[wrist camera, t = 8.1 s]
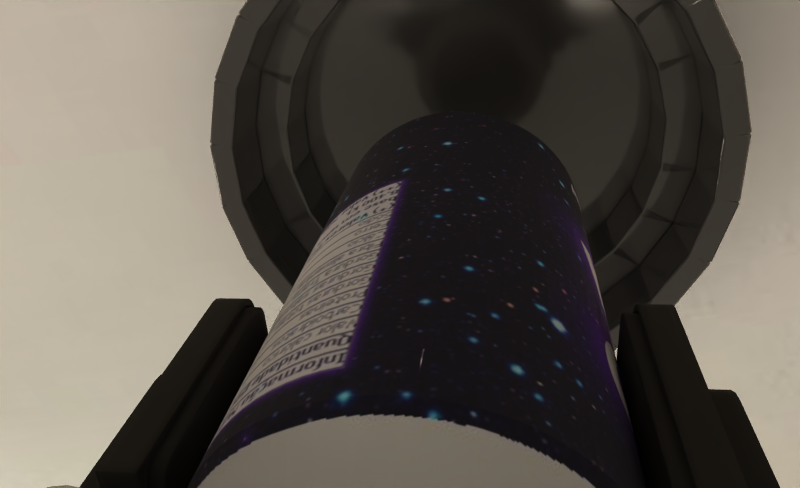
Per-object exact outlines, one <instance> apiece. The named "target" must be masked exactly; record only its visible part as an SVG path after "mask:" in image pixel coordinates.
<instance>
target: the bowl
mask: <svg viewBox="0 0 800 488" xmlns="http://www.w3.org/2000/svg"><path fill="white" fill-rule="evenodd" d="M215 79H216V80H215V82H214V96H213V111H212V126H211V140H210V142H211V146H210V147H211V152H212V157H213V162H214V167H215V172H216V177H217V182H218V187H219V192H220V197H221V202H222V205H223V209H224V211H225V213H226V216H227V218H228V220H229V222H230V224H231V226H232V228H233V230H234V232H235V234H236V237H237V239H238V241H239V243H240V245H241V247H242V249H243V251H244V253H245V255H246V257H247V260H249V262H250V264H251V265H252V266H253V267H254V269H255V270H256V271H257V272H258V274H259V275H260V276H261V277H262V278H263V280H264V281H265V282H266V283H267V285H268V286H269V287H270V288H271V290H272V291H273V292H274V293H275V295H276V296H277V297H278V298H279V299H280V301H281V302H282V303H283V304H284V303H285V301H286V299H287V298H288V296H289V294H290V292H291V290H292V288H293V286H294V284H295V282H296V280H297V279H298V277H299V275H300V273H301V271H302V269H303V267H304V265H305V263H306V262H307V260H308V258H309V256H310V254H311V252H312V250H313V248H314V246H315V244H316V243H317V241H318V239H319V237H320V235H321V233H322V231H323V229H324V227H325V225H326V224H327V222H328V220H329V218H330V216H331V214H332V212H333V210H334V208H335V207H336V205H337V203H338V201H339V199H340V197H341V195H342V193H343V191H344V189H345V188H346V186H347V184H348V182H349V180H350V178H351V176H352V174H353V172H354V171H355V169H356V167H357V165H358V164H359V162H360V161H361V159H362V158H363V156H364V155H365V154H366V153H367V152H368V150H369V149H370V148H371V147H372V146H373V145H374V144H375V143H376V142H378V141H379V140H380V139H381V138H382V137H383V136H385V135H386V134H388V133H389V132H390V131H392V130H394V129H395V128H397V127H399V126H401V125H403V124H405V123H407V122H409V121H412V120H414V119H417V118H420V117H423V116H427V115H431V114H436V113H443V112H476V113H482V114H487V115H491V116H495V117H498V118H501V119H504V120H507V121H509V122H512V123H514V124H516V125H518V126H520V127H522V128H524V129H525V130H527V131H529V132H530V133H532V134H533V135H534V136H536V137H537V138H539V139H540V140H541V141H542V142H543V143H544V144H546V145H547V146H548V147H549V148H550V149H551V150H552V151H553V152H554V154H555V155H556V156H557V157H558V158H559V160H560V161H561V163H562V164H563V165H564V167H565V169H566V170H567V172H568V174H569V176H570V178H571V180H572V182H573V185H574V187H575V190H576V193H577V197H578V201H579V205H580V209H581V214H582V218H583V222H584V226H585V230H586V235H587V239H588V243H589V247H590V251H591V256H592V260H593V264H594V268H595V273H596V277H597V281H598V285H599V289H600V294H601V298H602V302H603V306H604V310H605V315H606V319H607V323H608V327H609V331H610V336H611V340H612V344H613V348H614V351H615V350H616V348H618V339H619V328H620V319H621V314H622V313H633V310H634V307H635V305H636V304H670V305H674V306H675V304H676V303H677V302H678V301H679V300H680V299H681V297H682V296H683V295H684V294H685V293H686V292H687V290H688V289H689V288H690V287H691V286H692V284H693V283H694V282H695V281H696V280H697V279H698V277H699V276H700V275H701V274H702V273H703V272H704V270H705V269H706V268H707V267H708V266H709V264H710V262H711V261H712V260H713V258H714V255H715V253H716V251H717V249H718V247H719V245H720V243H721V241H722V239H723V237H724V234H725V232H726V230H727V228H728V226H729V224H730V222H731V220H732V218H733V216H734V213H735V211H736V209H737V207H738V205H739V201H740V198H741V192H742V186H743V180H744V174H745V168H746V162H747V156H748V150H749V144H750V138H751V134H750V133H751V123H750V115H749V108H748V100H747V92H746V84H745V77H744V69H743V62H742V61H741V56H740V54H739V52H738V50H737V48H736V46H735V43H734V41H733V39H732V37H731V35H730V33H729V30H728V28H727V26H726V24H725V22H724V20H723V18H722V15H721V13H720V11H719V9H718V7H717V5H716V2H715V0H247V2H246V3H245V4H244V6H243V7H242V9H241V10H240V12H239V15H238V16H237V17H236V20H235V23H234V25H233V28H232V31H231V34H230V37H229V39H228V42H227V45H226V48H225V51H224V54H223V56H222V59H221V62H220V65H219V68H218V70H217V73H216V76H215Z"/></svg>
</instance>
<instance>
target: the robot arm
mask: <svg viewBox="0 0 800 488" xmlns="http://www.w3.org/2000/svg"><path fill="white" fill-rule="evenodd" d="M267 336H268V331H267V325H266V320H265V315H264V311H263V310H262V308H260V307H254V304H253V303H252V301H251V300H250V299H223V298H219V299H216V300H214V301H213V303H212V304H211V305H210V307H209V308H208V310H207V311H206V313H205V314H204V315H203V317H202V318H201V320H200V321H199V323H198V324H197V325H196V327H195V328H194V330H193V331H192V333H191V334H190V335H189V337H188V338H187V340H186V341H185V342H184V344H183V345H182V347H181V348H180V350H179V351H178V352H177V354H176V355H175V357H174V358H173V360H172V361H171V362H170V364H169V365H168V367H167V368H166V370H165V371H164V372H163V374H162V375H160V376H159V377H158V378H157V379H156V380H155V381H154V383H153V384H152V386H151V387H150V388H149V390H148V391H147V393H146V394H145V395H144V397H143V398H142V400H141V401H140V403H139V404H138V405H137V407H136V408H135V410H134V411H133V412H132V414H131V415H130V417H129V418H128V419H127V421H126V422H125V424H124V425H123V427H122V428H121V429H120V431H119V432H118V434H117V435H116V436H115V438H114V439H113V441H112V442H111V443H110V445H109V446H108V448H107V449H106V451H105V452H104V453H103V455H102V456H101V458H100V459H99V460H98V462H97V463H96V465H95V466H94V467H93V469H92V470H91V472H90V473H89V475H88V476H87V477H86V479H85V480H84V482H83V483H82V484H81V486H80V487H74V486H68V485H63V486H53V487H47V488H188V485H189V483H190V482H191V480H192V478H193V476H194V474H195V472H196V470H197V468H198V466H199V464H200V463H201V461H202V459H203V457H204V455H205V453H206V451H207V449H208V447H209V446H210V444H211V442H212V440H213V438H214V436H215V434H216V432H217V430H218V428H219V427H220V425H221V423H222V421H223V419H224V417H225V415H226V413H227V411H228V409H229V408H230V406H231V404H232V402H233V400H234V398H235V396H236V394H237V392H238V391H239V389H240V387H241V385H242V383H243V381H244V379H245V377H246V375H247V373H248V372H249V370H250V368H251V366H252V364H253V362H254V360H255V358H256V356H257V354H258V353H259V351H260V349H261V347H262V345H263V343H264V341H265V339H266V337H267ZM617 365H618V369H619V374H620V378H621V382H622V386H623V390H624V395H625V399H626V403H627V407H628V411H629V416H630V420H631V424H632V428H633V432H634V437H635V441H636V445H637V449H638V454H639V458H640V462H641V466H642V470H643V475H644V479H645V483H646V487H647V488H780V486H779V484H778V482H777V480H776V478H775V475H774V473H773V471H772V469H771V467H770V465H769V462H768V460H767V458H766V456H765V454H764V451H763V449H762V447H761V445H760V443H759V441H758V438H757V436H756V434H755V432H754V430H753V427H752V425H751V423H750V421H749V419H748V417H747V414H746V412H745V410H744V408H743V406H742V404H741V401H740V399H739V398H738V396H737V394H736V393H735V392H733V391H732V390H714V389H708V387H707V385H706V382H705V380H704V377H703V375H702V372H701V370H700V367H699V365H698V362H697V360H696V357H695V355H694V352H693V350H692V348H691V345H690V343H689V340H688V338H687V335H686V333H685V330H684V328H683V325H682V323H681V320H680V318H679V316H678V313H677V311H676V308H675V307H674V305H670V304H636V305H635V307H634V310H633V313H622V314H621V319H620V328H619V339H618V350H617Z"/></svg>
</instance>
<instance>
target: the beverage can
mask: <svg viewBox="0 0 800 488" xmlns="http://www.w3.org/2000/svg"><path fill="white" fill-rule="evenodd" d="M188 488H647V487H646V483H645V479H644V475H643V470H642V466H641V462H640V458H639V454H638V449H637V445H636V441H635V437H634V432H633V428H632V424H631V420H630V416H629V411H628V407H627V403H626V399H625V395H624V390H623V386H622V382H621V378H620V374H619V369H618V365H617V361H616V357H615V352H614V348H613V344H612V340H611V336H610V331H609V327H608V323H607V319H606V315H605V310H604V306H603V302H602V298H601V294H600V289H599V285H598V281H597V277H596V273H595V268H594V264H593V260H592V256H591V251H590V247H589V243H588V239H587V235H586V230H585V226H584V222H583V218H582V214H581V209H580V205H579V201H578V197H577V193H576V190H575V187H574V185H573V182H572V180H571V178H570V176H569V174H568V172H567V170H566V169H565V167H564V165H563V164H562V163H561V161H560V160H559V158H558V157H557V156H556V155H555V154H554V152H553V151H552V150H551V149H550V148H549V147H548V146H547V145H546V144H544V143H543V142H542V141H541V140H540V139H539V138H537V137H536V136H534V135H533V134H532V133H530V132H529V131H527V130H525V129H524V128H522V127H520V126H518V125H516V124H514V123H512V122H509V121H507V120H504V119H501V118H498V117H495V116H491V115H487V114H482V113H476V112H443V113H436V114H431V115H427V116H423V117H420V118H417V119H414V120H412V121H409V122H407V123H405V124H403V125H401V126H399V127H397V128H395V129H394V130H392V131H390V132H389V133H388V134H386V135H385V136H383V137H382V138H381V139H380V140H379V141H378V142H376V143H375V144H374V145H373V146H372V147H371V148H370V149H369V150H368V152H367V153H366V154H365V155H364V156H363V158H362V159H361V161H360V162H359V164H358V165H357V167H356V169H355V171H354V172H353V174H352V176H351V178H350V180H349V182H348V184H347V186H346V188H345V189H344V191H343V193H342V195H341V197H340V199H339V201H338V203H337V205H336V207H335V208H334V210H333V212H332V214H331V216H330V218H329V220H328V222H327V224H326V225H325V227H324V229H323V231H322V233H321V235H320V237H319V239H318V241H317V243H316V244H315V246H314V248H313V250H312V252H311V254H310V256H309V258H308V260H307V262H306V263H305V265H304V267H303V269H302V271H301V273H300V275H299V277H298V279H297V280H296V282H295V284H294V286H293V288H292V290H291V292H290V294H289V296H288V298H287V299H286V301H285V303H284V305H283V307H282V309H281V311H280V313H279V315H278V317H277V318H276V320H275V322H274V324H273V326H272V328H271V330H270V332H269V334H268V336H267V337H266V339H265V341H264V343H263V345H262V347H261V349H260V351H259V353H258V354H257V356H256V358H255V360H254V362H253V364H252V366H251V368H250V370H249V372H248V373H247V375H246V377H245V379H244V381H243V383H242V385H241V387H240V389H239V391H238V392H237V394H236V396H235V398H234V400H233V402H232V404H231V406H230V408H229V409H228V411H227V413H226V415H225V417H224V419H223V421H222V423H221V425H220V427H219V428H218V430H217V432H216V434H215V436H214V438H213V440H212V442H211V444H210V446H209V447H208V449H207V451H206V453H205V455H204V457H203V459H202V461H201V463H200V464H199V466H198V468H197V470H196V472H195V474H194V476H193V478H192V480H191V482H190V483H189V485H188Z"/></svg>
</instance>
